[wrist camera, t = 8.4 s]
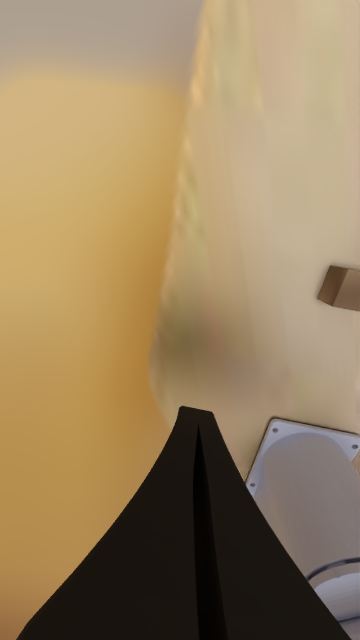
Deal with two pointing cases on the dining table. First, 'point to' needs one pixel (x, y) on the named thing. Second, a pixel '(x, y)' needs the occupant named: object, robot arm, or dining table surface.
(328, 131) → the dining table surface
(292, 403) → the dining table surface
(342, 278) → the trammel rail
